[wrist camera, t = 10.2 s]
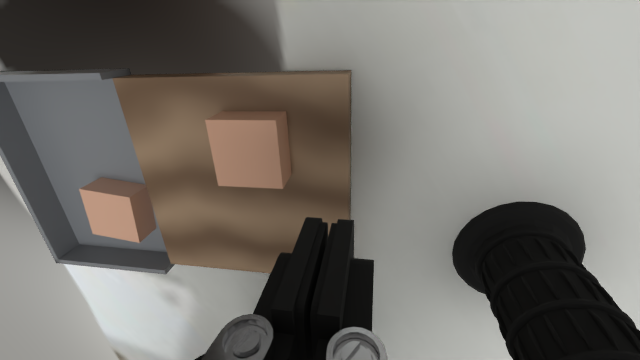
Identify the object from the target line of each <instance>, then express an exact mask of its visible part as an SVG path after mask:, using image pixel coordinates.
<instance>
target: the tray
mask: <svg viewBox="0 0 640 360" xmlns="http://www.w3.org/2000/svg"><path fill="white" fill-rule="evenodd" d="M127 75H131V73H130V69H129V68H123V69H86V70H85V69H82V70H43V71H0V156H1V158H2V160H3V161H4V163H5V165H6V167H7V169H8V171H9V173H10V175H11V177H12V179H13V181H14V183H15V185H16V187H17V188H18V190H19V192H20V194H21V196H22V198H23V200H24V202H25V204H26V206H27V208H28V210H29V212H30V213H31V215H32V217H33V219H34V221H35V223H36V225H37V227H38V229H39V231H40V233H41V235H42V237H43V238H44V240H45V242H46V244H47V246H48V248H49V250H50V252H51V254H52V256H53V258H54V259H55V261H56V263H62V264H72V265H81V266H91V267H100V268H110V269H120V270H129V271H139V272H148V273H158V274H167V272H168V271H169V270H170V269H171V268H172V267H173V266H174V264H171V263H170V260H169V257H168V253H167V250H166V247H165V244H164V241H163V238H162V234H161V231H160V228H159V225H158V222H157V219H156V215H155V212H154V209H153V212H154V218H155V223H156V229H155V230H154V231H152V232H151V233H150V234H149V235H148V236H147V237H146V238H145V239H143V240H142V241H141V242H140V243H138V242H132V241H127V240H122V239H117V238H111V237H106V236H101V235H96V234H93V233H92V230H91V226H90V223H89V220H88V217H87V213H86V210H85V207H84V204H83V200H82V197H81V194H80V191H79V189H80V188H82V187H84V186H85V185H87V184H89V183H91V182H93V181H95V180H97V179H99V178H101V177H103V178H109V179H115V180H121V181H127V182H133V183H139V184H145V180H144V177H143V174H142V171H141V168H140V165H139V161H138V158H137V155H136V152H135V149H134V146H133V142H132V139H131V136H130V133H129V130H128V127H127V123H126V120H125V117H124V114H123V111H122V108H121V104H120V101H119V98H118V95H117V92H116V89H115V85H114V82H113V79H112V78H116V77H122V76H127ZM145 185H146V184H145ZM152 207H153V206H152Z"/></svg>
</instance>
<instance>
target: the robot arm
mask: <svg viewBox="0 0 640 360" xmlns="http://www.w3.org/2000/svg"><path fill="white" fill-rule="evenodd" d="M373 273H374V260H367V259H355V258H354V220H345V219H338V221H337V223H332V224H331V227H330V231H329V236H328V223H327V222H323V221H322V218H314V217H306V218H305V221H304V223H303V226H302V228H301V231H300V234H299V236H298V239H297V241H296V244H295V247H294V249H293V252H292V253H285V252H281V253H280V254H279V256H278V258H277V260H276V263H275V265H274V267H273V269H272V272H271V274H270V276H269V279H268V281H267V283H266V285H265V288H264V290H263V292H262V295H261V297H260V299H259V301H258V304H257V306H256V308H255V310H254V313H253V314H248V315H242V316H240V317H237V318H235V319H233V320H232V321H230V322H229V323H228V324H227V325H226V326H225V327H224V328H223V329H222V330H221V331H220V333H219V334H218V336H217V337H216V339H215V340H214V342H213V343H212V344H211V346H210V347H209V349H208V350H207V352H206V353H205V354H203V355H202V356H200V357H198V358H196V359H195V360H388V359H387V354H386V350H385V348H384V345H383V343H382V342H381V340H380V339H379V338H378V337H377V336H376V335H375V334H374V333H372V306H373Z"/></svg>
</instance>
